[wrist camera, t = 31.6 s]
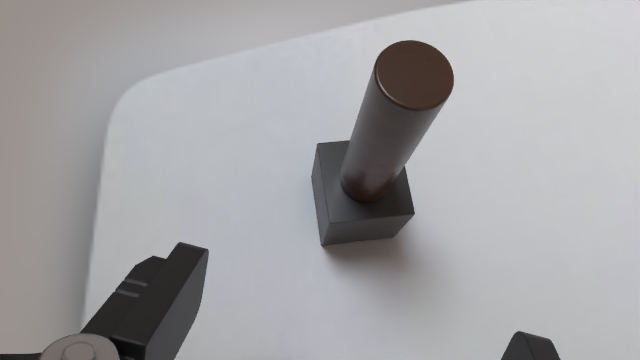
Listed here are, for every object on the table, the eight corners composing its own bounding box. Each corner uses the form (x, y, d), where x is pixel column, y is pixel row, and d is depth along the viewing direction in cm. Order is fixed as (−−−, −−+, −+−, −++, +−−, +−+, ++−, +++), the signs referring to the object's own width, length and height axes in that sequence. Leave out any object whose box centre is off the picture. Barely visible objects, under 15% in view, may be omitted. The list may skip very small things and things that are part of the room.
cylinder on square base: (321, 246, 24) (360, 140, 12) (311, 176, 25) (338, 22, 14) (394, 237, 24) (495, 127, 13) (380, 169, 25) (462, 14, 14)
